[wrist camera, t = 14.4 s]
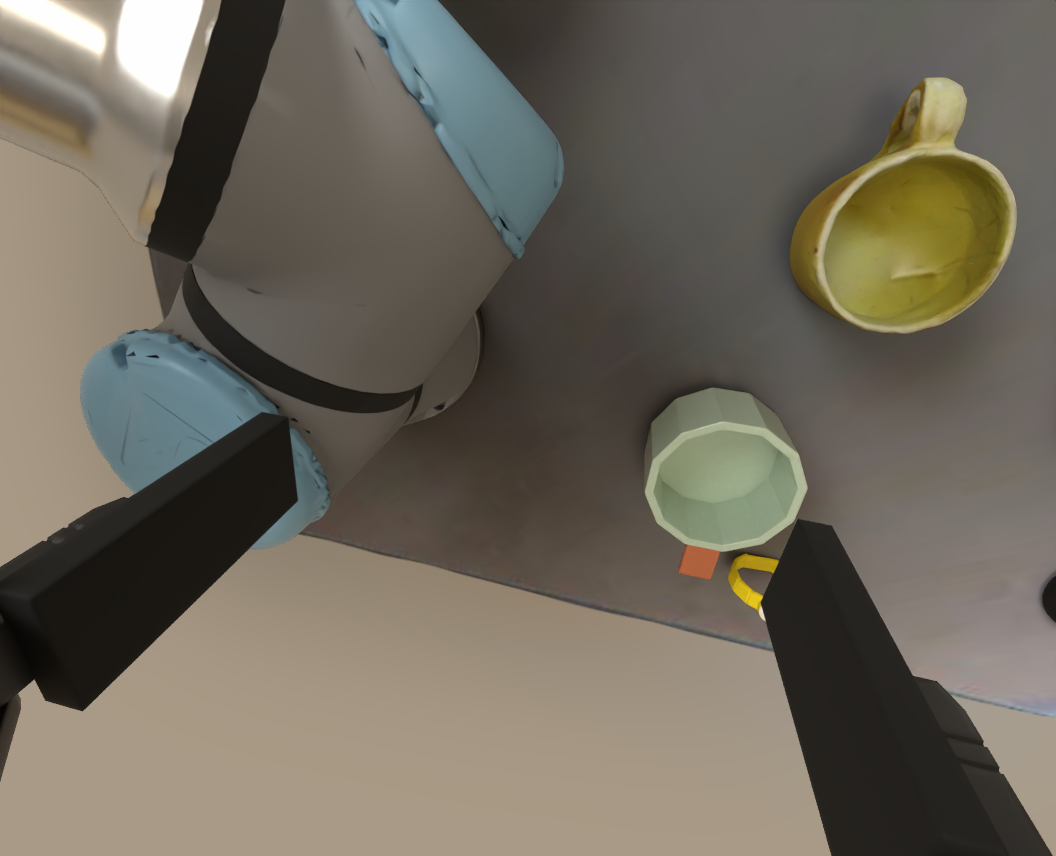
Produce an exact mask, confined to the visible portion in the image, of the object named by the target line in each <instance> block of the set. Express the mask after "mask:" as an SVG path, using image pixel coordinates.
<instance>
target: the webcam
mask: <svg viewBox="0 0 1056 856" xmlns="http://www.w3.org/2000/svg"><path fill="white" fill-rule="evenodd" d="M1043 604H1044V608H1045V610H1046V612H1047V614H1048V615H1049V616H1050V617H1051V618H1052V620H1054V621H1055V622H1056V576H1055V577H1054V578H1053V579H1052V580H1051V581H1050V582H1049V583H1048V585H1047V587H1046V589H1045V591H1044V594H1043Z"/></svg>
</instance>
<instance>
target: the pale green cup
mask: <svg viewBox="0 0 1056 856" xmlns="http://www.w3.org/2000/svg"><path fill="white" fill-rule="evenodd" d="M644 471H645V495H646V497H647V500H648V502H649V505H650V507H651V510H652V512H653V515H654V517H655V520H656V522H657V524H659V525H660V526H661V527H663V528H664V529H665V530H667V531H668V532H669V533H671V534H672V535H673V536H675V537H676V538H677V539H679V540H680V541H681V542H683V543H684V544H685V547H684V550H683V553H682V556H681V560H680V563H679V566H678V570H679V573H681V574H686V575H691V576H695V577H700V578H705V579H711V577H712V574H713V571H714V569H715V566H716V563H717V560H718V557H719V554H720V552H726V551H731V550H736V549H741V548H746V547H751V546H756V545H761V544H763V543H765V542H766V541H768V540H769V539H770V538H772V537H773V536H774V535H776V534H777V533H779V532H780V531H781V530H783V529H784V528H786V527H787V526H788V525H790V524H791V523H792V522H793V521H794V520H795V518H796V515H797V513H798V510H799V508H800V506H801V503H802V501H803V499H804V496H805V494H806V492H807V489H808V487H807V483H806V479H805V475H804V472H803V468H802V464H801V461H800V457H799V454H798V452H797V450H796V448H795V447H794V445H793V443H792V441H791V439H790V438H789V436H788V434H787V432H786V430H785V428H784V427H783V425H782V423H781V421H780V419H779V418H778V416H777V415H776V414H775V413H774V412H772V411H771V410H770V409H769V408H767V407H766V406H765V405H764V404H763V403H761V402H760V401H759V400H758V399H756V398H755V397H754V396H753V395H751V394H750V393H744V392H738V391H732V390H726V389H720V388H714V387H712V388H709V389H705V390H702V391H699V392H696V393H692V394H689V395H686V396H683V397H680V398H676V399H675V400H674V401H673V402H672V403H671V404H670V405H669V406H668V407H667V408H666V409H665V410H664V411H663V412H662V413H661V414H660V415H659V416H658V417H657V418H656V419H655V420H654V421H653V422H652V423H651V426H650V431H649V435H648V439H647V443H646V447H645V452H644Z"/></svg>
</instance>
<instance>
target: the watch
mask: <svg viewBox="0 0 1056 856" xmlns="http://www.w3.org/2000/svg"><path fill="white" fill-rule="evenodd" d="M778 562H779V560H777V559H771V558H765V557H759V556H753V555H747V553H746V554H743V555H741V556H739V557H737V558H735V559H734V562H733V564H732V567H731V569H730V572H729V576H728V580H729V583H730V585H731V587H732V590H733V591H734V592H735V593H736V594H737V595H738V596H739V597H740V598H741V599H742V600H743V601H744V602H745V603H747V604H748V605H749V606H751V607H753V608H755V609H757V610H758V613H759V615H760V617H761V618H762V619H763V620H764V621H765V617H764V613H763V610H762V606H761V603H760V602H761V600H762V598H763V595H761V594H759V593H757V592H755V591H753V590H752V589H751V588H750V587H749V586H748V585H747V584H746V583H744V582H743V581H742V580H741V578H740V576H739V573H738V571H737V570H738V569H740V568H742V567H745V568H751V569H756V570H762V571H768V572H772V573H773V574H774V571H775V569H776V567H777V565H778Z"/></svg>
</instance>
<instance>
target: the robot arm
mask: <svg viewBox="0 0 1056 856" xmlns="http://www.w3.org/2000/svg"><path fill="white" fill-rule="evenodd" d="M0 138H1V139H3V140H6V141H8V142H10V143H13V144H15V145H17V146H20V147H22V148H25V149H27V150H29V151H32V152H34V153H36V154H39V155H41V156H44V157H46V158H48V159H51V160H53V161H55V162H58V163H60V164H62V165H65V166H67V167H70V168H72V169H74V170H77V171H79V172H81V173H82V174H84V175H85V176H86V177H87V178H88V179H89V180H90V181H91V182H92V183H93V184H94V185H95V186H96V187H97V188H99V190H100V191H101V193H102V194H103V196H104V197H105V199H106V200H107V202H108V203H109V205H110V206H111V208H112V209H113V211H114V212H115V214H116V215H117V217H118V219H119V220H120V221H121V223H122V225H123V226H124V228H125V229H126V231H127V232H128V234H129V235H130V237H131V238H132V240H134V241H136V242H138V243H140V244H142V245H144V246H146V247H149V248H151V249H154V250H157V251H159V252H162V253H165V254H167V255H170V256H173V257H175V258H178V259H181V260H183V261H186V262H188V263H189V264H188V266H187V269H186V272H185V274H184V277H183V280H182V282H181V285H180V288H179V290H178V293H177V295H176V298H175V301H174V304H173V306H172V309H171V311H170V313H169V315H168V316H167V317H166V319H165V320H164V321H163V322H162V323H161V324H160V325H159V326H157V327H155V328H154V329H151V330H148V329H144V330H134V331H130V332H127V333H123V334H121V335H120V336H118V340H117V341H115V342H113V343H111V344H109V345H107V346H105V347H103V348H102V349H100V350H99V351H98V352H96V353H95V354H94V356H93V357H92V358H91V359H90V360H89V362H88V363H87V365H86V367H85V369H84V372H83V375H82V379H81V388H80V390H81V391H80V392H81V393H80V399H81V406H82V411H83V414H84V418H85V421H86V424H87V427H88V429H89V431H90V434H91V436H92V438H93V440H94V442H95V443H96V445H97V447H98V449H99V450H100V452H101V454H102V455H103V456H104V458H105V459H106V460H107V461H108V462H109V464H110V465H111V467H112V469H113V470H114V472H115V473H116V474H117V475H118V477H119V478H120V479H121V480H122V482H124V483H125V485H126V486H127V487H128V488H129V489H130V490H131V491H132V492H133V493H134V495H133V496H131V497H129V498H125V497H123V498H120V499H118V500H115V501H112V502H110V503H107V504H105V505H102V506H100V507H97V508H95V509H93V510H91V511H89V512H88V513H86V514H84V515H83V516H81V517H80V518H78V519H76V520H75V521H73V522H72V523H70V524H69V526H68V527H67V528H62V529H61V530H59V531H57V532H56V533H54V534H53V535H51V536H49V537H48V539H47V541H41V542H40V543H38V544H37V545H35V546H33V547H32V548H30V549H29V550H27V551H25V552H24V553H22V554H20V555H19V556H17V557H16V558H14V559H12V560H11V561H9V562H8V563H6V564H4V565H3V566H1V567H0V780H1V777H2V773H3V769H4V766H5V763H6V759H7V756H8V752H9V749H10V745H11V741H12V738H13V734H14V731H15V728H16V724H17V721H18V717H19V714H20V710H21V703H20V702H21V700H20V697H19V695H18V693H19V692H20V691H21V690H22V689H23V688H25V687H26V686H27V685H28V684H29V683H31V681H33V680H34V679H35V681H36V683H37V685H38V687H39V689H40V691H41V693H42V694H43V697H44V699H45V700H46V701H49V702H52V703H56V704H59V705H63V706H66V707H69V708H73V709H77V710H80V711H83V710H84V709H86V708H87V707H88V706H89V705H90V704H91V703H92V702H93V701H94V700H95V699H96V698H97V697H98V696H99V695H100V694H101V693H102V692H103V691H104V690H105V689H106V688H107V687H108V686H109V685H110V684H111V683H112V682H113V681H114V680H115V679H116V678H117V677H118V676H119V675H120V674H121V673H122V672H123V671H124V670H125V669H127V668H128V666H130V665H131V664H132V663H133V662H134V661H135V660H136V659H137V658H138V657H139V656H140V655H141V654H142V653H143V652H144V651H145V650H146V649H147V648H148V647H149V646H150V645H151V644H152V643H153V642H154V641H155V640H156V639H157V638H158V637H159V636H160V635H161V634H162V633H163V632H164V631H165V630H166V629H168V628H169V627H170V626H171V624H173V623H174V622H175V621H176V620H177V619H178V618H179V617H180V616H181V615H182V614H183V613H184V612H185V611H186V610H187V609H188V608H189V607H190V606H191V605H192V604H193V603H194V602H195V601H196V600H197V599H198V598H199V597H200V596H201V595H202V594H203V593H204V592H205V591H206V590H207V589H208V588H209V587H211V586H212V585H213V584H214V583H215V582H216V581H217V580H218V579H219V578H220V577H221V576H222V575H223V574H224V573H225V572H226V571H227V570H228V569H229V568H230V567H231V566H232V565H233V564H234V563H235V562H236V561H237V560H238V559H239V558H240V557H241V556H242V555H243V554H244V553H245V552H246V551H247V550H248V549H266V548H271V547H275V546H278V545H280V544H283V543H285V542H287V541H289V540H290V539H292V538H294V537H295V536H296V535H298V534H299V533H300V532H301V531H302V530H303V529H304V528H305V527H307V526H308V525H309V524H310V523H312V522H314V521H315V520H319V519H320V518H321V517H322V516H323V515H324V514H325V513H326V512H327V510H328V508H329V505H330V503H331V500H332V499H333V498H334V497H335V496H336V495H337V494H338V493H339V492H340V491H341V490H342V489H343V488H344V487H345V486H346V485H347V484H348V483H349V482H350V481H351V479H352V478H353V477H354V476H355V475H356V474H357V473H358V472H359V471H360V470H361V469H362V468H363V467H364V466H365V465H366V464H367V463H368V462H369V461H370V460H371V458H372V457H373V456H374V455H375V454H376V453H377V452H378V451H379V450H380V449H381V448H382V447H383V446H384V445H385V444H386V443H387V442H388V441H389V440H390V439H391V438H392V436H393V435H394V434H395V433H396V432H397V431H398V430H399V429H400V428H401V427H402V426H404V425H408V424H411V423H415V422H418V421H422V420H425V419H428V418H430V417H433V416H435V415H437V414H439V413H441V412H442V411H444V410H445V409H447V408H448V407H450V406H451V405H452V404H453V403H455V402H456V401H457V400H458V399H459V398H460V397H461V396H462V394H463V393H464V392H465V391H466V389H467V388H468V387H469V386H470V384H471V383H472V381H473V379H474V378H475V376H476V374H477V371H478V369H479V366H480V363H481V359H482V355H483V347H484V332H483V324H482V318H481V314H480V311H479V306H480V305H481V304H482V302H483V301H484V300H485V298H486V297H487V295H488V294H489V293H490V291H491V290H492V289H493V287H494V286H495V284H496V283H497V282H498V280H499V279H500V277H501V276H502V275H503V273H504V272H505V271H506V269H507V268H508V266H509V265H510V264H511V262H512V261H513V259H514V258H516V259H520V258H521V257H522V255H523V254H524V252H525V247H524V245H525V243H526V241H527V240H528V238H529V237H530V235H531V234H532V232H533V231H534V229H535V227H536V226H537V224H538V223H539V221H540V220H541V218H542V217H543V215H544V214H545V212H546V211H547V209H548V208H549V206H550V205H551V203H552V202H553V200H554V199H555V197H556V195H557V194H558V191H559V189H560V187H561V184H562V180H563V175H564V160H563V154H562V150H561V147H560V144H559V142H558V140H557V138H556V137H555V135H554V134H553V132H552V131H551V130H550V129H549V127H548V126H547V125H546V123H545V122H544V121H543V120H542V119H541V117H540V116H539V115H538V114H537V113H536V111H535V110H534V109H533V108H532V107H531V106H530V104H529V103H528V102H527V101H526V100H525V99H524V97H523V96H522V95H521V94H520V93H519V92H518V91H517V89H516V88H515V87H514V86H513V85H512V84H511V83H510V81H509V80H508V79H507V78H506V77H505V76H504V74H503V73H502V72H501V71H500V70H499V69H498V68H497V66H496V65H495V64H494V63H493V62H492V61H491V60H490V58H489V57H488V56H487V55H486V54H485V53H484V52H483V51H482V49H481V48H480V47H479V46H478V45H477V44H476V43H475V42H474V40H473V39H472V38H471V37H470V36H469V35H468V34H467V33H466V31H465V30H464V29H463V28H462V27H461V26H460V25H459V24H458V22H457V21H456V20H455V19H454V18H453V17H452V16H451V14H450V13H449V12H448V11H447V10H446V9H445V8H444V7H443V6H442V5H441V3H440V2H439V1H438V0H0ZM760 603H761V606H762V610H763V613H764V617H765V621H766V624H767V628H768V631H769V635H770V638H771V642H772V646H773V649H774V653H775V656H776V660H777V663H778V667H779V670H780V674H781V677H782V681H783V685H784V688H785V692H786V695H787V699H788V703H789V706H790V710H791V713H792V717H793V720H794V724H795V727H796V731H797V735H798V738H799V741H800V745H801V748H802V752H803V756H804V760H805V763H806V767H807V770H808V774H809V777H810V781H811V785H812V788H813V792H814V795H815V799H816V802H817V806H818V809H819V813H820V817H821V820H822V824H823V827H824V831H825V834H826V838H827V842H828V845H829V849H830V852H831V855H832V856H1052V854H1051V852H1050V851H1049V849H1048V847H1047V846H1046V844H1045V842H1044V841H1043V839H1042V838H1041V836H1040V834H1039V832H1038V831H1037V829H1036V827H1035V826H1034V824H1033V822H1032V821H1031V819H1030V817H1029V816H1028V814H1027V813H1026V811H1025V809H1024V807H1023V806H1022V804H1021V802H1020V801H1019V799H1018V798H1017V796H1016V794H1015V793H1014V791H1013V789H1012V787H1011V786H1010V784H1009V782H1008V781H1007V779H1006V777H1005V776H1004V774H1000V772H999V766H998V764H997V763H996V761H995V759H994V758H993V756H992V754H991V753H990V751H989V750H988V748H987V747H984V745H983V742H984V741H983V740H982V738H981V736H980V734H979V733H978V731H977V729H976V728H975V726H974V725H973V723H972V721H971V719H970V718H969V716H968V715H967V713H966V711H965V710H964V709H963V708H962V707H961V706H960V705H959V704H958V703H957V702H956V701H955V699H954V698H953V697H952V696H951V695H950V694H949V693H948V692H947V691H946V690H945V689H944V688H943V687H942V686H941V685H940V684H939V683H938V682H937V681H933V680H929V679H924V678H920V677H916V676H913V675H912V673H911V672H910V670H909V668H908V666H907V664H906V662H905V660H904V659H903V657H902V655H901V653H900V651H899V649H898V648H897V646H896V644H895V642H894V640H893V638H892V636H891V635H890V633H889V631H888V629H887V627H886V625H885V623H884V622H883V620H882V618H881V616H880V614H879V612H878V610H877V609H876V607H875V605H874V603H873V601H872V599H871V598H870V596H869V594H868V592H867V590H866V588H865V586H864V585H863V583H862V581H861V579H860V577H859V575H858V573H857V572H856V570H855V568H854V566H853V564H852V562H851V561H850V559H849V557H848V555H847V553H846V551H845V549H844V548H843V546H842V544H841V542H840V540H839V538H838V536H837V535H836V533H835V531H834V529H833V527H832V526H830V525H825V524H820V523H815V522H810V521H805V520H800V519H798V520H797V522H796V525H795V527H794V529H793V531H792V534H791V536H790V538H789V540H788V542H787V545H786V547H785V549H784V551H783V554H782V556H781V558H780V560H779V562H778V565H777V567H776V569H775V571H774V574H773V576H772V578H771V580H770V582H769V585H768V587H767V589H766V591H765V594H764V596H763V598H762V600H761V602H760Z"/></svg>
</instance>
